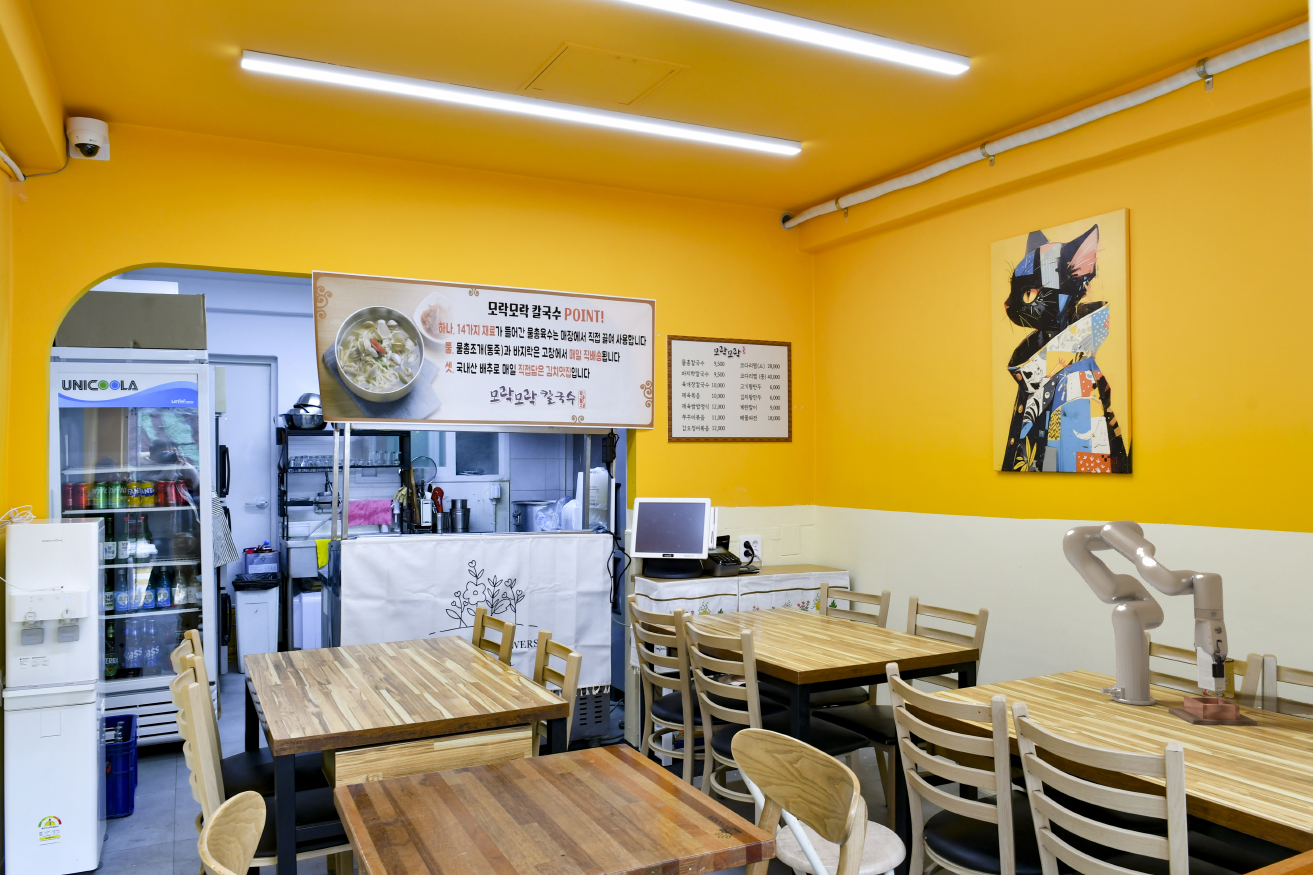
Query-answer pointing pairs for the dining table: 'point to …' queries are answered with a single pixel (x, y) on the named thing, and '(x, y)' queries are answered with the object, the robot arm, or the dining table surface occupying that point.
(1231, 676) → the beverage can
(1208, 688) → the skincare box
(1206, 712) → the caddy
